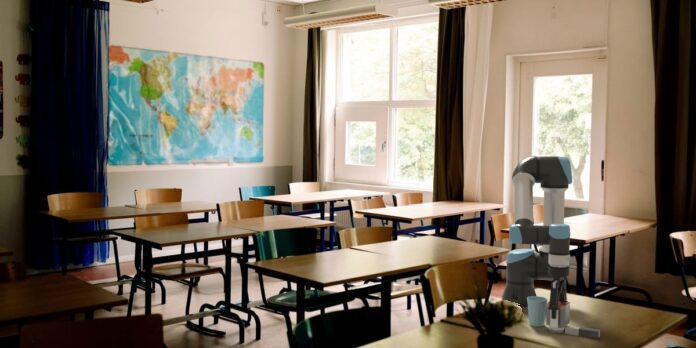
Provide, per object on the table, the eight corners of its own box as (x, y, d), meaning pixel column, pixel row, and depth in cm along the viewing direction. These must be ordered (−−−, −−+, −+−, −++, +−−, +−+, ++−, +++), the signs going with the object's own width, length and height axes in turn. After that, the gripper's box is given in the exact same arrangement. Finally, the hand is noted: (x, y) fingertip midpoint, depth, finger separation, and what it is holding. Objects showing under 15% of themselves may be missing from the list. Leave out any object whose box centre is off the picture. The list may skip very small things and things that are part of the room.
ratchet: (600, 335, 251) (601, 314, 251) (597, 339, 246) (598, 318, 245) (551, 328, 260) (551, 307, 260) (547, 332, 255) (547, 311, 255)
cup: (525, 321, 270) (526, 295, 269) (545, 322, 268) (546, 296, 267) (527, 327, 262) (527, 300, 261) (547, 328, 261) (548, 301, 260)
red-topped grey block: (565, 327, 251) (565, 306, 250) (546, 324, 254) (546, 303, 254) (569, 322, 257) (569, 302, 256) (550, 320, 261) (551, 299, 260)
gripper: (561, 271, 243) (560, 332, 244) (575, 261, 262) (574, 317, 264) (540, 269, 247) (539, 329, 248) (556, 259, 266) (555, 315, 268)
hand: (557, 323), depth 256 cm, fingers open, 10 cm apart
